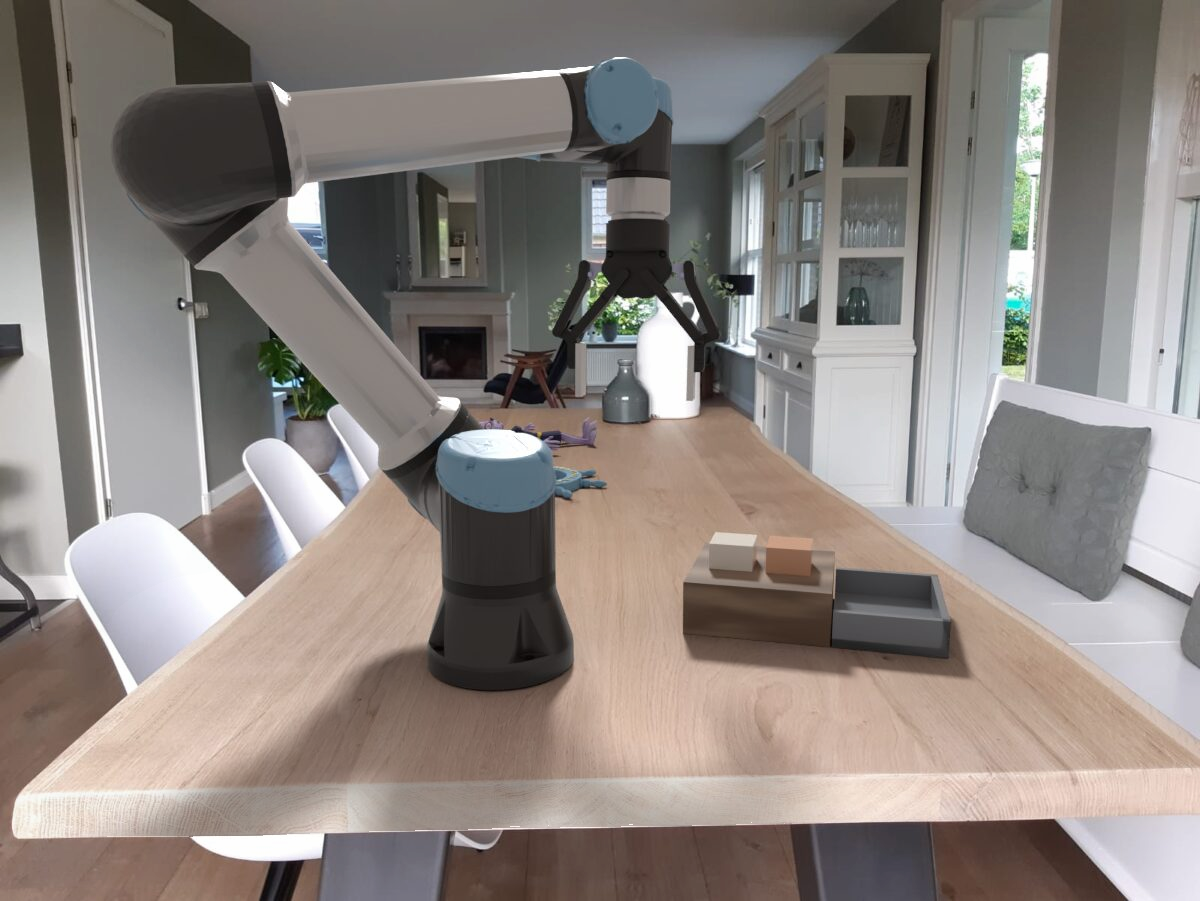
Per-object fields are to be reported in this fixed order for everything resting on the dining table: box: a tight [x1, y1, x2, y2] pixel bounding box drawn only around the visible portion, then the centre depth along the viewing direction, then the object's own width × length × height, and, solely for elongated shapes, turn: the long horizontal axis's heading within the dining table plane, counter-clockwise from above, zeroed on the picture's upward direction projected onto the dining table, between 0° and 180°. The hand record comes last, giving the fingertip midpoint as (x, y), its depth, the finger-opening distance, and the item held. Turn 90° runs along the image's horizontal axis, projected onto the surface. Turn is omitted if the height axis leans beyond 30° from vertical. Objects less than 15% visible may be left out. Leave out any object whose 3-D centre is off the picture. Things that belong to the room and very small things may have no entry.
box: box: [831, 566, 952, 659], centre depth 104 cm, size 16×12×4 cm
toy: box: [478, 416, 598, 452], centre depth 219 cm, size 26×9×30 cm
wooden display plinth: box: [682, 542, 836, 648], centre depth 108 cm, size 16×16×6 cm
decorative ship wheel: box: [554, 465, 608, 499], centre depth 178 cm, size 30×3×30 cm
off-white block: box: [708, 531, 758, 572], centre depth 108 cm, size 5×5×3 cm
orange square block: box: [765, 535, 814, 576], centre depth 106 cm, size 5×5×3 cm
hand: (634, 398), depth 112 cm, fingers open, 13 cm apart
